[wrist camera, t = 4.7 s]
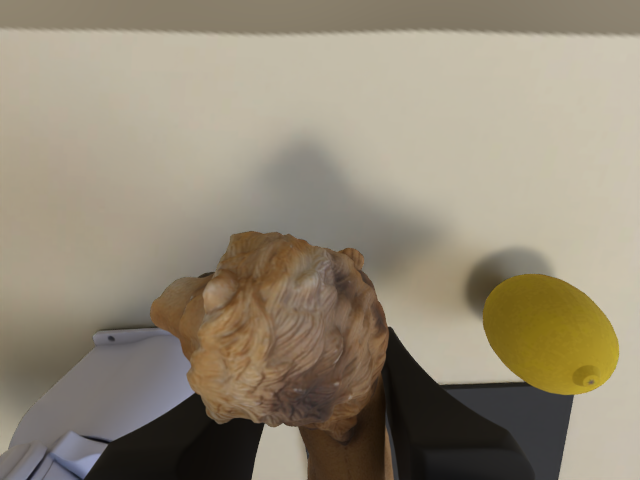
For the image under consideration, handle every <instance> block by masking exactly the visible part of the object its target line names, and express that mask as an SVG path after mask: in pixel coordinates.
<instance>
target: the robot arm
mask: <svg viewBox="0 0 640 480" xmlns="http://www.w3.org/2000/svg"><path fill="white" fill-rule="evenodd" d="M388 330H389V339H388V346H387V349H386V358H385V362H384V365H383V368H382V370H381V374H382V379H383V384H384V391H385V399H386V414H387V418H388V423H389V427H390V431H391V435H392V440H393V444H394V449H395V455H396V462H397V469H398V476H399V480H535V472H534V470H533V468H532V466H531V464H530V462H529V460H528V458H527V456H526V455H525V453H524V452H523V450H522V449H521V447H520V446H519V444H518V443H517V441H516V440H515V439H514V437H513V436H512V435H511V433H510V432H509V431H508V430H507V429H505V428H503V427H501V426H499V425H497V424H495V423H494V422H492V421H490V420H488V419H486V418H484V417H483V416H481V415H479V414H478V413H476V412H475V411H473V410H471V409H470V408H468V407H467V406H465V405H464V404H463V403H461V402H460V401H458V400H457V399H456V398H454V397H453V396H452V395H450V394H449V393H448V392H447V391H446V390H444V389H443V388H442V387H441V386H440V385H439V384H438V383H436V382H435V381H434V380H433V379H432V378H431V377H430V376H429V375H428V374H427V373H426V372H425V371H424V370H423V369H422V368H421V366H420V365H419V364H418V363H417V362H416V361H415V360H414V358H413V357H412V356H411V355H410V353H409V352H408V351H407V350H406V348H405V347H404V346H403V344H402V343H401V341H400V340H399V339H398V337H397V335H396V334H395V332H394V330H393V329H392V328H391V327H388ZM112 336H113V337H114V338H113V337H112ZM93 341H94V343H95V347H94V348H93V349H92V350H91V351H90V352H89V353H88V354H87V355H86V356H85V357H84V358H83V359H81V360H80V361H79V362H78V363H77V364H76V365H75V366H74V367H73V368H72V369H71V370H70V371H69V372H68V373H66V374H65V375H64V376H63V377H62V378H61V379H60V380H59V381H58V382H57V383H56V384H55V385H54V386H52V387H51V388H50V389H49V390H48V391H47V392H46V393H45V394H44V395H43V396H42V397H41V398H40V399H39V400H37V401H36V402H35V403H34V404H33V405H32V407H31V408H30V409H29V410H28V411H27V412H26V414H25V415H24V416H23V418H22V420H21V421H20V423H19V424H18V426H17V428H16V430H15V432H14V434H13V437H12V439H11V442H10V445H9V448H8V450H7V451H6V452H4V453H3V454H2V455H1V456H0V480H251V479H252V473H253V468H254V462H255V457H256V453H257V449H258V445H259V441H260V438H261V434H262V431H263V427H264V424H265V423H263V422H262V423H254V422H253V421H252V420H250V419H245V418H233V419H231V420H230V421H228V422H226V423H223V424H218V423H217V422H216V421H215V420H214V419H211V418H210V417H209V416H208V415H207V413H206V406H205V405H204V403H203V401H202V399H201V395H199V394H197V393H195V392H194V391H193V390H192V389H191V387H190V385H189V382H188V380H187V376H186V374H187V372H188V371H189V370H190V368H191V363H190V361H189V360H188V359H187V358H186V357H185V356H184V354H183V352H182V347H181V343H180V340H179V339H178V338H177V337H175V336H174V335H172V334H171V333H170V332H168V331H165V330H163V329H160V328H143V329H125V330H107V331H97V332H96V333H95V334H94V335H93Z"/></svg>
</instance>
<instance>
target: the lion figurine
mask: <svg viewBox="0 0 640 480" xmlns="http://www.w3.org/2000/svg"><path fill="white" fill-rule="evenodd" d="M363 264H364V257H363V255H362V254H361V253H360V252H359V251H357V250H356V249H353V248H345V249H344V250H341V251H339V252H335V251H332V250H331V249H328V248H321V247H318V246H311V245H309V244H308V243H307V241H305V240H301V239H297V238H295V237H293V236H292V235H290V234H286V235H282V234H280V233H278V232H271V233H266V234H262V233H259V232H254V231H249V232H244V233H239V234H233V235H231V236H230V243H229V246H228V248H227V250H226V253H225V254H224V255H223V256H222V258H221V259H220V261H219V264H218V265H217V269H216V271H215V272H210V273H204V274H202V275H201V276H199V277H197V278H195V277H183V278H180V279H177V280H175V281H174V282H173V283H172V284H170V285H169V286H168V287H167V288H166V289H165V291H164V292H163V293H162V295H161V296H160V297H158V298H157V299H155V300H154V302H153V303H152V306H151V310H150V317H151V320H152V322H153V323H154V324H155V325H156V326H157V327H159V328H160V329H163V330H165V331H168V332H170V333H171V334H172V335H174V336H175V337H177V338H178V339H179V340H180V343H181V347H182V352H183V354H184V356H185V357H186V358H187V359H188V360H189V361H190V363H191V368H190V370H189V371H188V372H187V374H186V376H187V380H188V382H189V385H190V387H191V389H192V390H193V391H194V392H195V393H197V394H199V395H201V399H202V401H203V403H204V405H205V406H206V413H207V415H208V416H209V417H210V418H211V419H214V420H215V421H216V422H217V423H218V424H223V423H226V422H228V421H230V420H231V419H233V418H245V419H250V420H252V421H253V422H254V423H262V422H263V423H265V424H267V425H268V426H270V427H277V426H279V425H281V424H282V423H284V424H285V425H287V426H295V427H296V426H298V427H299V430H300V433H301V436H302V439H303V441H304V444H305V446H306V448H307V450H308V452H309V458H308V480H394V478H393V469H392V459H391V449H390V443H389V436H388V432H387V428H386V425H385V422H386V399H385V391H384V384H383V379H382V374H381V370H382V368H383V365H384V362H385V358H386V349H387V346H388V339H389V330H388V326H387V324H386V318H385V314H384V311H383V308H382V306H381V304H380V302H379V301H378V299H377V295H376V293H375V289H374V285H373V283H372V281H371V280H370V279H369V278H368V276H367V275H366V274H365V273H364V272H362V271H361V269H362V267H363Z"/></svg>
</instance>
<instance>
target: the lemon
mask: <svg viewBox="0 0 640 480" xmlns="http://www.w3.org/2000/svg"><path fill="white" fill-rule="evenodd" d="M483 326H484V330H485V333H486V336H487V339H488V341H489V343H490V345H491V347H492V349H493V350H494V352H495V353H496V354H497V355H498V357H499V358H500V359H501V361H502V362H503V363H504V364H505V365H506V366H507V367H508V368H509V369H510V370H511V371H512V372H513V373H514V374H516V375H517V376H518V377H520V378H521V379H523V380H524V381H525V382H527V383H528V384H530V385H532V386H533V387H536V388H538V389H541V390H543V391H546V392H549V393H555V394H562V395H575V394H582V393H586V392H589V391H592V390H594V389H596V388H598V387H599V386H601V385H602V384H604V383H605V382H606V381H607V380H608V379H609V378H610V376H611V375H612V373H613V372H614V370H615V368H616V365H617V362H618V358H619V344H618V339H617V337H616V334H615V332H614V329H613V327H612V325H611V323H610V321H609V320H608V318H607V317H606V315H605V314H604V313H603V312H602V311H601V309H600V308H599V307H598V306H597V305H596V304H595V303H594V302H593V301H592V300H591V299H590V298H589V297H588V296H587V295H586V294H585V293H583V292H582V291H580V290H579V289H577V288H575V287H574V286H572V285H570V284H568V283H567V282H565V281H563V280H560V279H557V278H554V277H550V276H546V275H542V274H524V275H518V276H514V277H512V278H509V279H507V280H505V281H503V282H502V283H500V284H499V285H497V286H496V287H495V288H494V289H493V290H492V291H491V293H490V294H489V296H488V298H487V299H486V302H485V305H484V309H483Z"/></svg>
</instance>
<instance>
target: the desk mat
mask: <svg viewBox="0 0 640 480" xmlns="http://www.w3.org/2000/svg"><path fill="white" fill-rule="evenodd" d="M441 387H442V388H443V389H444V390H446V391H447V392H448V393H449V394H450V395H452V396H453V397H454V398H456V399H457V400H458V401H460V402H461V403H463V404H464V405H465V406H467V407H468V408H470V409H471V410H473V411H475V412H476V413H478V414H479V415H481V416H483V417H484V418H486V419H488V420H490V421H492V422H494V423H495V424H497V425H499V426H501V427H503V428H505V429H507V430H508V431H509V432H510V433H511V435H512V436H513V437H514V439H515V440H516V441H517V443H518V444H519V446H520V447H521V449H522V450H523V452H524V453H525V455H526V456H527V458H528V460H529V462H530V464H531V466H532V468H533V470H534V472H535V480H558V477H559V472H560V467H561V461H562V456H563V451H564V445H565V440H566V435H567V429H568V424H569V419H570V413H571V408H572V403H573V397H574V395H562V394H555V393H549V392H546V391H543V390H541V389H538V388H536V387H533V386H532V385H530V384H528V383H507V384H479V385H451V386H441ZM385 425H386V428H387V432H388V436H389V443H390V449H391V459H392V469H393V478H394V480H399V476H398V469H397V462H396V455H395V449H394V444H393V440H392V435H391V431H390V427H389V423H388V418H387V414H386V422H385ZM306 452H307V459H308V458H309V452H308V450H307V448H306Z"/></svg>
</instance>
